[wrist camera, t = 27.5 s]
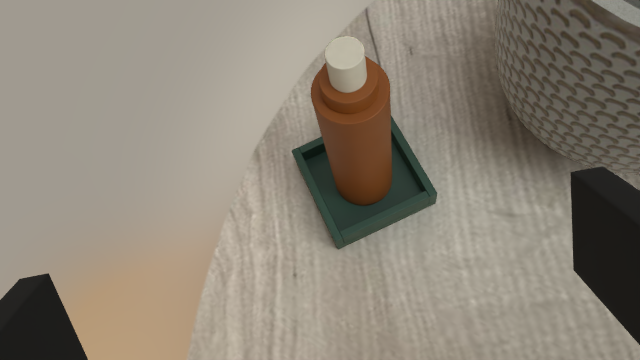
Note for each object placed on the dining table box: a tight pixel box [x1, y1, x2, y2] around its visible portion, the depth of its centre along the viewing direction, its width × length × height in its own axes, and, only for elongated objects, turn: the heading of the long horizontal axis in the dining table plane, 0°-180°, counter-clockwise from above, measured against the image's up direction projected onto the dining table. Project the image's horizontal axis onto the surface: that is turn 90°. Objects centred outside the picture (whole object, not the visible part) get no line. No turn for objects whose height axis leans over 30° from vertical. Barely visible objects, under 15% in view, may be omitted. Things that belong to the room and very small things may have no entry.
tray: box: [292, 116, 437, 249], centre depth 41 cm, size 8×8×2 cm
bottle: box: [311, 36, 392, 206], centre depth 34 cm, size 4×4×16 cm
